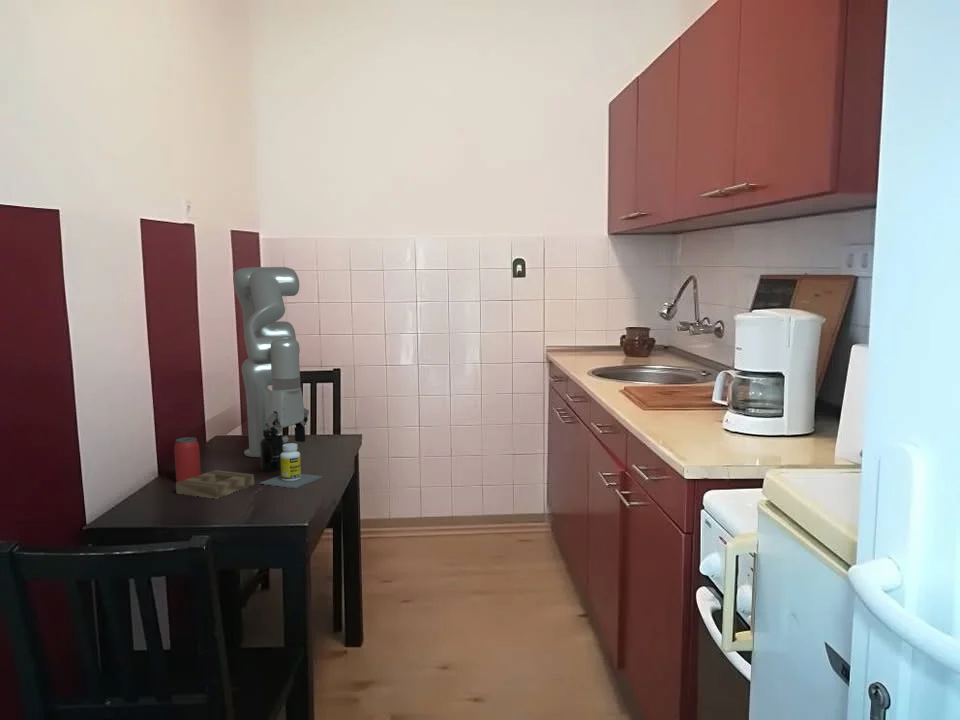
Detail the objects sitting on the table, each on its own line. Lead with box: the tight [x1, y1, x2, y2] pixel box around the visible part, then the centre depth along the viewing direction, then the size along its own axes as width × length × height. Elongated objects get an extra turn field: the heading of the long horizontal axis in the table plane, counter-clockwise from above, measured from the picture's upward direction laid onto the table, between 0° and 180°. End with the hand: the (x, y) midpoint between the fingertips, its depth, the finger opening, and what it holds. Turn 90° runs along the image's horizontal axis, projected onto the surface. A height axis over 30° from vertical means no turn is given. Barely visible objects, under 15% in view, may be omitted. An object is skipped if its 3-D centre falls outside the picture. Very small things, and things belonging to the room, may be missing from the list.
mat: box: [259, 473, 323, 489], centre depth 211 cm, size 12×12×1 cm
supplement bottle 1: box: [260, 428, 285, 473], centre depth 225 cm, size 7×7×12 cm
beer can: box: [173, 436, 202, 482], centre depth 214 cm, size 7×7×12 cm
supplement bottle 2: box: [280, 442, 302, 481], centre depth 211 cm, size 5×5×10 cm
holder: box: [175, 469, 255, 500], centre depth 204 cm, size 14×14×3 cm
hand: (289, 445), depth 211 cm, fingers open, 9 cm apart
